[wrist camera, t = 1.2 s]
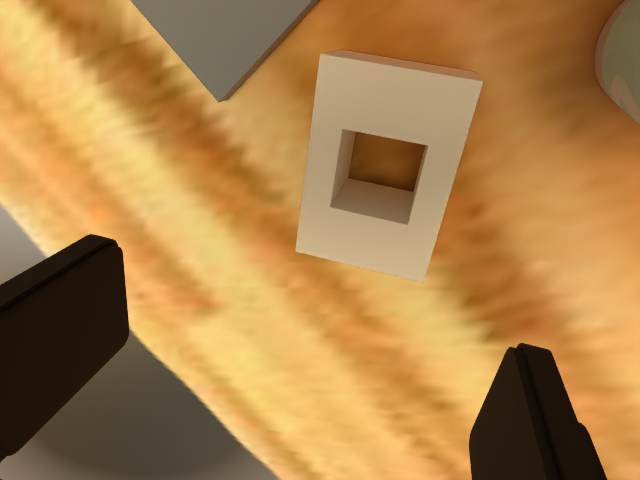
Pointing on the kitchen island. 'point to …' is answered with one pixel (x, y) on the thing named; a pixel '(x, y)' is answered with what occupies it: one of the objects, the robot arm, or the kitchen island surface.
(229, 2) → the pin plate
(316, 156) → the flange block
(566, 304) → the kitchen island surface
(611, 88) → the coffee cup
